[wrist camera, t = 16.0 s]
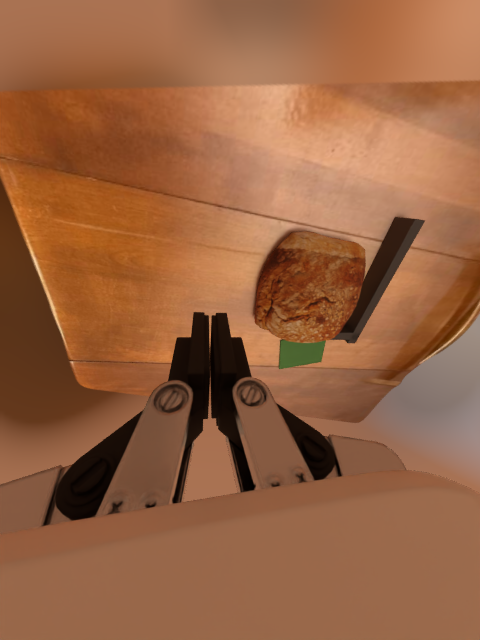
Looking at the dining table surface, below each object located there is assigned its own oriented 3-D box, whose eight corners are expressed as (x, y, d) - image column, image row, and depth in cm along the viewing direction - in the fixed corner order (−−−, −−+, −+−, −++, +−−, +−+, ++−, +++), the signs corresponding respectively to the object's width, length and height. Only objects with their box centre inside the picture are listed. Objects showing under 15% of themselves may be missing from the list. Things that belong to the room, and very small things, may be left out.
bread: (249, 317, 41) (260, 347, 32) (267, 224, 31) (289, 232, 23) (332, 320, 45) (360, 347, 36) (369, 239, 35) (420, 251, 27)
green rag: (280, 340, 46) (280, 340, 45) (326, 332, 47) (327, 333, 46) (278, 368, 51) (279, 369, 51) (320, 361, 52) (321, 361, 52)
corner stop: (315, 203, 31) (328, 204, 27) (403, 218, 34) (425, 220, 31) (278, 332, 44) (284, 342, 41) (344, 333, 48) (355, 343, 44)
